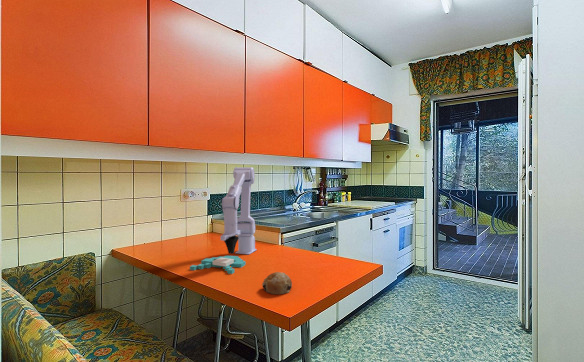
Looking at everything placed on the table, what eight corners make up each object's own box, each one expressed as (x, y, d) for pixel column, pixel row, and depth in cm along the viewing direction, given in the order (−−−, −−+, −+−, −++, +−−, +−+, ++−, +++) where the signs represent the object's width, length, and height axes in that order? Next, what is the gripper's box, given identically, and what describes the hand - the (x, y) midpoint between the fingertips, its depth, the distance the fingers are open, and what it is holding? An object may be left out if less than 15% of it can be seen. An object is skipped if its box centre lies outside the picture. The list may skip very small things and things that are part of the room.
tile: (221, 257, 145) (212, 261, 139) (233, 259, 142) (225, 262, 136) (221, 261, 145) (212, 264, 139) (233, 262, 142) (225, 266, 136)
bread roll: (279, 306, 108) (289, 286, 107) (255, 290, 111) (264, 270, 110) (290, 295, 117) (299, 277, 116) (267, 281, 121) (275, 263, 119)
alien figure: (232, 275, 131) (251, 261, 150) (232, 270, 131) (251, 257, 150) (189, 271, 137) (213, 258, 156) (189, 266, 137) (213, 254, 156)
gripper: (230, 226, 135) (231, 258, 135) (246, 220, 148) (246, 249, 149) (216, 225, 137) (216, 256, 137) (232, 220, 150) (233, 248, 151)
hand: (231, 253), depth 143 cm, fingers closed
